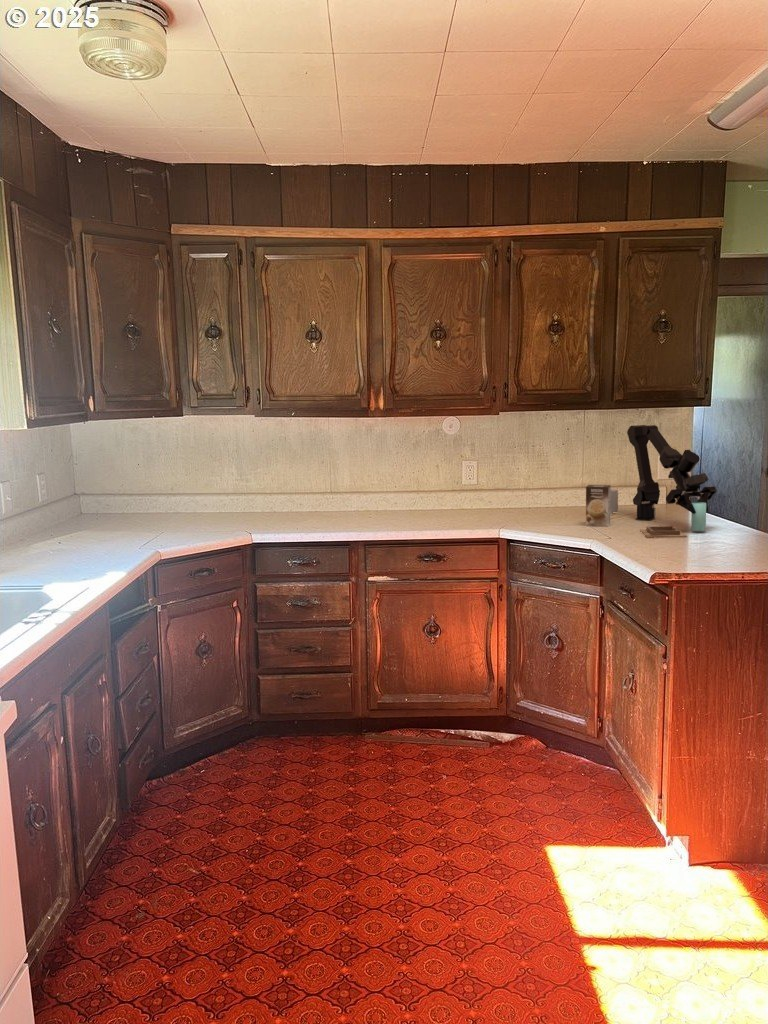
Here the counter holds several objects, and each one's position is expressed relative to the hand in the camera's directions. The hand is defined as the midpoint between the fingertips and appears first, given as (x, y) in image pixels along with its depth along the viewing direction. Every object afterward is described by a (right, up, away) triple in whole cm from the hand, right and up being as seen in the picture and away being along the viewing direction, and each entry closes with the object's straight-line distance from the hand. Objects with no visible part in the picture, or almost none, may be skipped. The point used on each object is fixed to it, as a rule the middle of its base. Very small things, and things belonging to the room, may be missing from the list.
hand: (701, 512), depth 284 cm
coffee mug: (-17, 0, +58) cm, 61 cm away
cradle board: (-14, -8, +2) cm, 16 cm away
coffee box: (-31, -5, +27) cm, 41 cm away
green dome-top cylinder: (0, -6, +2) cm, 7 cm away
